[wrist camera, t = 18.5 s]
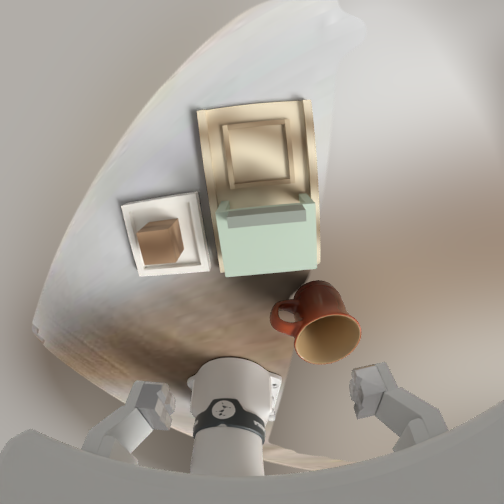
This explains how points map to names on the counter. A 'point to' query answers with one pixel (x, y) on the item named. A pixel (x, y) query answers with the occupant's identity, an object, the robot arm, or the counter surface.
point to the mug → (318, 323)
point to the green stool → (268, 237)
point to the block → (160, 242)
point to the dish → (190, 226)
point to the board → (259, 157)
